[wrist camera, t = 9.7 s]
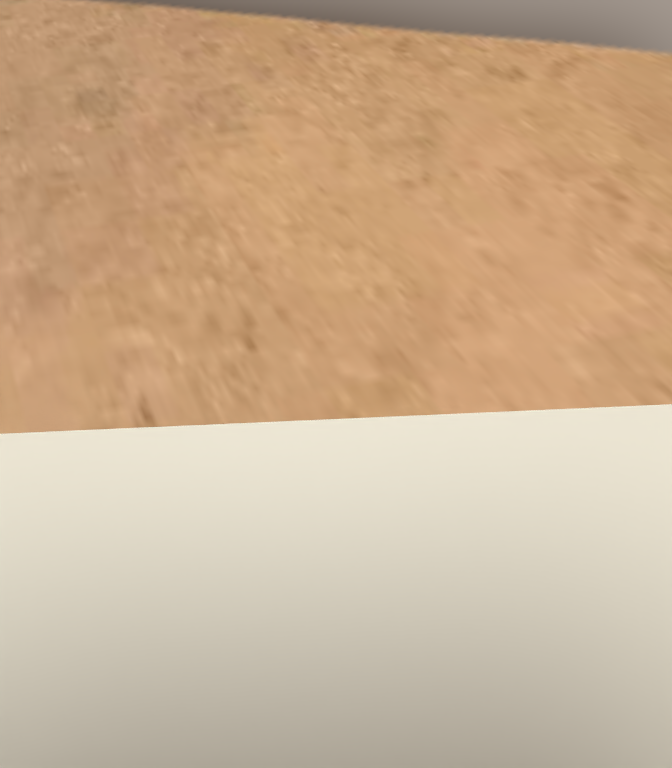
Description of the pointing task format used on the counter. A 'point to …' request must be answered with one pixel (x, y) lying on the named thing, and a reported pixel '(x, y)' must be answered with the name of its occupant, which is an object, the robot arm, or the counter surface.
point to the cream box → (340, 593)
